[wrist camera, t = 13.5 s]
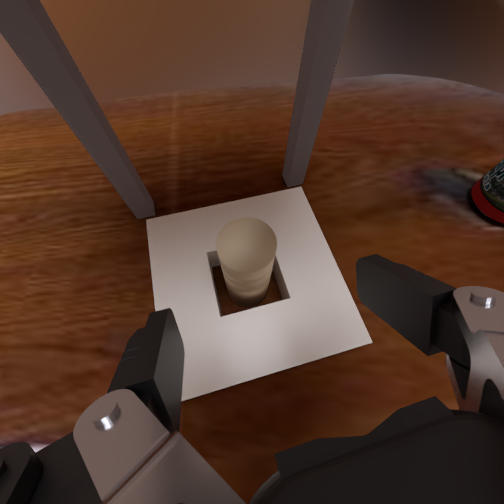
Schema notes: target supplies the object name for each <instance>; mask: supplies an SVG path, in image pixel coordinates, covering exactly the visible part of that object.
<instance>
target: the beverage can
mask: <svg viewBox="0 0 504 504" xmlns="http://www.w3.org/2000/svg"><path fill="white" fill-rule="evenodd" d="M471 194H472V199H473V201H474V203H475V204H476V206H477V208H478V209H479V210H480V211H481V212H482V213H483V214H484V215H486V216H487V217H489V218H491V219H493V220H495V221H498V222H500V223H504V159H503V160H502V161H501V162H500V163H498V164H497V165H496V166H495V167H494V168H492V169H491V170H490V171H489V172H488V173H487V174H485V175H484V176H483V177H482V178H481V179H480V180H478V181H477V182H476V183H475V184H474V186H473V187H472V191H471Z"/></svg>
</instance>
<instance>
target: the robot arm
mask: <svg viewBox="0 0 504 504" xmlns="http://www.w3.org/2000/svg"><path fill="white" fill-rule="evenodd" d="M356 272H357V293H358V296H359V298H360V300H361V302H362V303H363V304H364V305H365V306H366V307H368V308H369V309H370V310H371V311H372V312H374V313H375V314H376V315H377V316H379V317H380V318H381V319H382V320H384V321H385V322H386V323H387V324H389V325H390V326H391V327H392V328H394V329H395V330H396V331H397V332H399V333H400V334H401V335H402V336H404V337H405V338H406V339H407V340H408V341H410V342H411V343H412V344H413V345H415V346H416V347H417V348H418V349H420V350H421V351H422V352H423V353H425V354H426V355H427V356H430V355H433V354H436V353H439V352H442V351H443V352H445V353H446V366H447V369H448V373H449V376H450V379H451V383H452V386H453V389H454V393H455V396H456V400H457V403H458V406H459V410H449V409H448V408H447V407H446V406H445V405H444V404H443V403H442V402H441V401H440V400H439V399H438V398H437V397H436V396H434V397H431V398H428V399H426V400H423V401H420V402H417V403H415V404H412V405H409V406H406V407H403V408H401V409H398V410H397V411H396V412H395V413H393V414H392V415H391V416H390V417H388V418H387V419H386V420H385V421H384V422H382V423H381V424H380V425H379V426H378V427H376V428H375V429H374V430H373V431H371V432H370V433H369V434H367V435H364V436H354V437H338V438H322V439H315V440H312V441H309V442H307V443H304V444H301V445H298V446H296V447H293V448H290V449H287V450H284V451H282V452H279V453H276V454H274V455H275V459H276V463H277V468H278V471H277V472H276V473H274V474H273V475H272V476H271V477H269V478H268V479H267V481H266V482H265V483H264V484H263V485H262V486H261V487H260V488H259V489H258V491H257V492H256V493H255V495H254V496H253V497H252V499H251V500H250V502H249V504H504V293H503V292H501V291H498V290H495V289H491V288H486V287H478V286H466V287H461V288H458V289H456V288H454V287H452V286H450V285H447V284H445V283H443V282H441V281H439V280H436V279H434V278H432V277H430V276H428V275H426V276H425V274H423V273H421V272H419V271H415V269H412V268H410V267H408V266H406V265H403V264H398V263H394V262H392V261H390V260H388V259H386V258H384V257H382V256H379V255H377V254H374V255H370V256H367V257H363V258H359V259H358V260H357V263H356ZM184 358H185V351H184V345H183V340H182V337H181V334H180V331H179V329H178V326H177V323H176V320H175V317H174V314H173V311H172V309H171V308H167V309H163V310H159V311H155V312H151V313H150V314H149V317H148V320H147V323H146V326H145V328H141V329H138V330H137V331H136V332H135V333H134V334H133V336H132V337H131V338H130V339H129V341H128V343H127V345H126V348H125V352H124V353H123V355H122V358H121V361H120V362H119V365H118V367H117V370H116V372H115V375H114V377H113V379H112V382H111V384H110V387H109V389H108V392H107V394H106V395H104V396H102V397H100V398H99V399H97V400H96V401H95V402H94V403H92V404H91V405H90V406H89V407H88V408H87V409H86V410H85V411H84V412H83V413H82V415H81V416H80V417H79V419H78V421H77V423H76V425H75V427H74V431H73V432H72V433H70V434H68V435H66V436H65V437H63V438H61V439H59V440H58V441H56V442H54V443H52V444H50V445H49V446H47V447H45V448H43V449H41V450H40V451H38V452H36V453H35V452H34V450H33V449H32V448H31V446H30V445H29V444H28V443H25V442H18V443H14V444H10V445H8V446H5V447H3V448H1V449H0V504H246V503H245V502H244V501H243V500H242V499H241V498H240V497H239V496H238V495H237V494H236V492H235V491H234V490H233V489H232V488H231V487H230V486H229V485H228V484H227V483H226V482H225V481H224V480H223V479H222V478H221V477H220V475H219V474H218V473H217V472H216V471H215V470H214V469H213V468H212V467H211V466H210V465H209V464H208V463H207V462H206V461H205V460H204V458H203V457H202V456H201V455H200V454H199V453H198V452H197V451H196V450H195V449H194V448H193V447H192V446H191V445H190V444H189V443H188V441H187V440H186V439H185V438H184V437H183V436H182V435H181V434H180V433H179V427H180V413H181V399H182V386H183V372H184Z"/></svg>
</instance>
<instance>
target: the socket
mask: <svg viewBox="0 0 504 504" xmlns="http://www.w3.org/2000/svg"><path fill="white" fill-rule="evenodd" d="M242 217H251V218H256V219H259V220H261V221H263V222H265V223H266V224H268V225H269V226H270V227H271V228H272V230H273V231H274V233H275V235H276V239H277V249H276V254H275V259H274V263H273V268H272V270H273V273H274V276H275V279H276V282H277V285H278V288H279V291H280V294H281V297H282V301H278V302H274V303H271V304H267V305H263V306H260V307H256V308H252V309H248V310H245V311H241V312H237V313H234V314H230V315H226V316H222V311H221V307H220V302H219V298H218V293H217V288H216V284H215V279H214V275H213V270H212V267H215V266H219V265H221V264H220V261H219V257H218V253H217V249H216V239H217V236H218V233H219V232H220V230H221V229H222V228H223V227H224V226H225V225H226V224H227V223H228V222H230V221H232V220H234V219H237V218H242ZM146 224H147V234H148V244H149V254H150V263H151V273H152V283H153V293H154V302H155V311H159V310H163V309H167V308H171V309H172V311H173V314H174V317H175V320H176V323H177V326H178V329H179V331H180V334H181V337H182V340H183V345H184V351H185V358H184V372H183V386H182V399H181V401H184V400H187V399H191V398H194V397H197V396H200V395H204V394H207V393H210V392H213V391H217V390H220V389H223V388H226V387H230V386H233V385H236V384H239V383H243V382H246V381H249V380H252V379H256V378H259V377H262V376H265V375H269V374H272V373H275V372H278V371H282V370H285V369H288V368H291V367H295V366H298V365H301V364H304V363H308V362H311V361H314V360H317V359H321V358H324V357H327V356H330V355H334V354H337V353H340V352H343V351H347V350H350V349H353V348H356V347H360V346H363V345H366V344H369V343H373V342H372V340H371V338H370V336H369V334H368V331H367V329H366V327H365V325H364V323H363V320H362V318H361V316H360V314H359V312H358V310H357V307H356V305H355V303H354V301H353V299H352V296H351V294H350V292H349V290H348V288H347V286H346V283H345V281H344V279H343V277H342V275H341V272H340V270H339V268H338V266H337V264H336V261H335V259H334V257H333V255H332V253H331V251H330V248H329V246H328V244H327V242H326V240H325V237H324V235H323V233H322V231H321V229H320V227H319V224H318V222H317V220H316V218H315V216H314V213H313V211H312V209H311V207H310V205H309V203H308V200H307V198H306V196H305V194H304V192H303V189H302V187H297V188H292V189H287V190H283V191H278V192H273V193H269V194H264V195H259V196H255V197H250V198H245V199H241V200H236V201H231V202H227V203H222V204H217V205H213V206H208V207H203V208H198V209H194V210H189V211H184V212H180V213H175V214H170V215H166V216H161V217H156V218H152V219H147V220H146Z"/></svg>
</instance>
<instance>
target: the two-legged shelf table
mask: <svg viewBox="0 0 504 504" xmlns="http://www.w3.org/2000/svg"><path fill="white" fill-rule="evenodd" d="M353 3H354V0H311V4H310V10H309V16H308V22H307V28H306V34H305V41H304V46H303V53H302V58H301V64H300V70H299V77H298V82H297V89H296V95H295V101H294V107H293V113H292V119H291V125H290V131H289V137H288V143H287V149H286V155H285V161H284V167H283V173H282V176H283V178H284V181H285V183H286V185H287V187H291V186H296V185H300V184H303V181H304V177H305V174H306V170H307V167H308V163H309V160H310V156H311V152H312V149H313V145H314V142H315V138H316V135H317V131H318V128H319V124H320V121H321V117H322V113H323V110H324V106H325V103H326V99H327V96H328V92H329V89H330V85H331V81H332V78H333V74H334V71H335V67H336V64H337V60H338V57H339V53H340V49H341V46H342V42H343V39H344V35H345V31H346V28H347V25H348V21H349V18H350V14H351V10H352V7H353ZM0 33H1V34H2V35H3V37H4V38H5V39H6V41H7V42H8V44H9V45H10V46H11V48H12V49H13V50H14V52H15V53H16V55H17V56H18V57H19V59H20V60H21V61H22V63H23V64H24V65H25V67H26V68H27V70H28V71H29V72H30V74H31V75H32V76H33V78H34V79H35V80H36V82H37V83H38V84H39V86H40V87H41V88H42V90H43V91H44V93H45V94H46V95H47V97H48V98H49V99H50V101H51V102H52V103H53V105H54V106H55V108H56V109H57V110H58V112H59V113H60V114H61V116H62V117H63V118H64V120H65V121H66V123H67V124H68V125H69V127H70V128H71V129H72V131H73V132H74V133H75V135H76V136H77V137H78V139H79V140H80V142H81V143H82V144H83V146H84V147H85V148H86V150H87V151H88V152H89V154H90V155H91V157H92V158H93V159H94V161H95V162H96V163H97V165H98V166H99V167H100V169H101V170H102V171H103V173H104V174H105V176H106V177H107V178H108V180H109V181H110V182H111V184H112V185H113V186H114V188H115V189H116V191H117V192H118V193H119V195H120V196H121V197H122V199H123V200H124V201H125V203H126V204H127V205H128V207H129V208H130V210H131V211H132V212H133V214H134V215H135V216H136V218H137V219H141V218H145V217H150V216H155V208H154V201H153V200H152V198H151V196H150V194H149V193H148V191H147V189H146V187H145V185H144V184H143V182H142V180H141V178H140V177H139V175H138V173H137V171H136V170H135V168H134V166H133V164H132V163H131V161H130V159H129V157H128V155H127V154H126V152H125V150H124V148H123V147H122V145H121V143H120V141H119V140H118V138H117V136H116V134H115V132H114V131H113V129H112V127H111V125H110V124H109V122H108V120H107V118H106V117H105V115H104V113H103V111H102V109H101V108H100V106H99V104H98V102H97V101H96V99H95V97H94V95H93V94H92V92H91V90H90V89H89V86H88V85H87V83H86V81H85V79H84V78H83V76H82V74H81V72H80V71H79V69H78V67H77V66H76V64H75V62H74V60H73V58H72V56H71V55H70V53H69V51H68V49H67V48H66V46H65V44H64V42H63V40H62V39H61V37H60V35H59V33H58V32H57V30H56V28H55V26H54V25H53V23H52V21H51V19H50V18H49V16H48V14H47V12H46V10H45V9H44V7H43V5H42V3H41V2H40V0H0Z"/></svg>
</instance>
